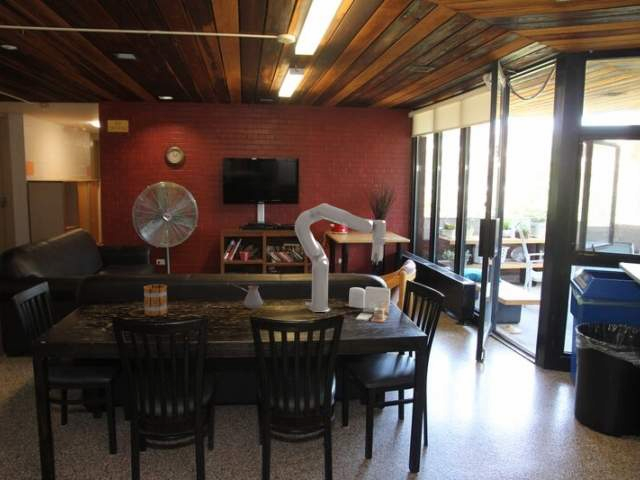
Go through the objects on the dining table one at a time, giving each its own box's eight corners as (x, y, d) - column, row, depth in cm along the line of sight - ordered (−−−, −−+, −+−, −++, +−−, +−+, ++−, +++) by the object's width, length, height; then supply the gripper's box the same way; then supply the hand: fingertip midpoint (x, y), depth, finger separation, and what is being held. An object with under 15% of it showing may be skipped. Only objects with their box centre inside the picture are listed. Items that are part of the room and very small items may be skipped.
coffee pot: (264, 305, 303) (264, 281, 301) (260, 310, 292) (261, 285, 290) (229, 304, 304) (229, 280, 302) (225, 309, 293) (225, 284, 291)
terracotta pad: (370, 321, 273) (370, 319, 273) (375, 315, 285) (375, 314, 285) (383, 322, 271) (383, 321, 271) (387, 317, 283) (387, 315, 283)
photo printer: (365, 307, 303) (366, 287, 302) (363, 309, 299) (364, 289, 298) (350, 305, 307) (350, 286, 306) (347, 307, 303) (348, 287, 302)
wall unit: (362, 312, 291) (363, 288, 289) (365, 309, 299) (366, 285, 297) (389, 315, 286) (390, 290, 285) (391, 312, 294) (392, 288, 292)
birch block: (373, 318, 276) (374, 309, 276) (375, 316, 281) (375, 307, 281) (382, 319, 275) (382, 310, 274) (384, 317, 280) (384, 308, 279)
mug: (162, 316, 275) (161, 289, 273) (139, 314, 276) (138, 288, 274) (176, 307, 294) (176, 282, 292) (154, 306, 296) (154, 281, 294)
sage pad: (355, 319, 276) (355, 318, 276) (360, 314, 287) (360, 312, 287) (368, 320, 274) (368, 319, 274) (372, 315, 285) (372, 314, 285)
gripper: (375, 239, 297) (374, 267, 299) (368, 242, 281) (367, 271, 283) (388, 240, 294) (386, 268, 296) (381, 243, 278) (379, 273, 280)
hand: (377, 270), depth 289 cm, fingers open, 9 cm apart
